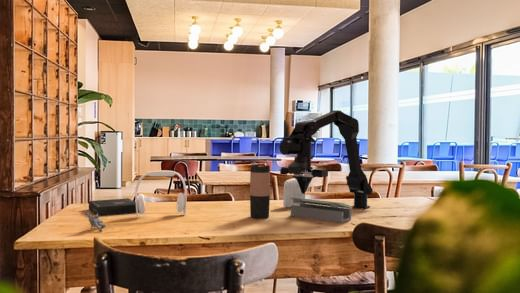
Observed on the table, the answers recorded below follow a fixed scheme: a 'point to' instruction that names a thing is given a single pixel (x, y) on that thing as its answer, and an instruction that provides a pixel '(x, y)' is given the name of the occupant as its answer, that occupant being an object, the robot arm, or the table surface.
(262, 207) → the travel mug
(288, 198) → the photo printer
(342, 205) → the duct cover
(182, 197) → the headset
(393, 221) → the table surface
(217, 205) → the table surface
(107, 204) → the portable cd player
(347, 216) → the cable duct
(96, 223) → the elephant figurine
